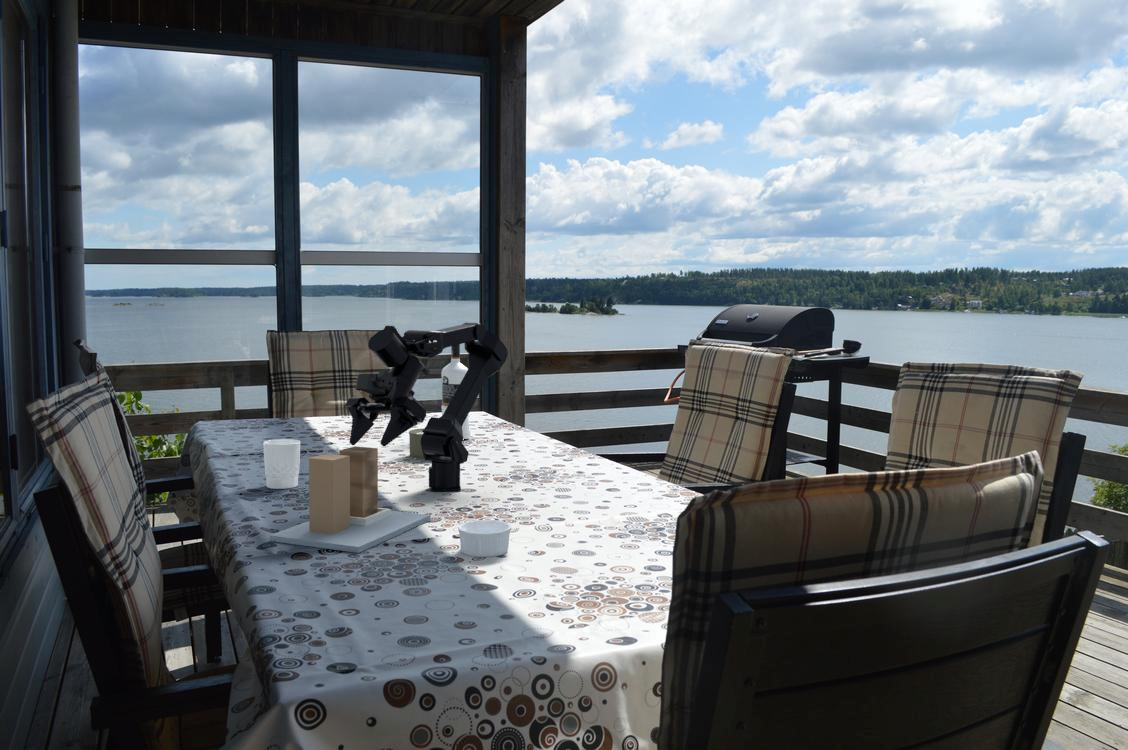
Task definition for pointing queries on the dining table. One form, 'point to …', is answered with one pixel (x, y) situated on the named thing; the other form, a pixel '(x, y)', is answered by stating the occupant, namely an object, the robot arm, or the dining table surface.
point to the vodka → (453, 383)
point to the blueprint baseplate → (353, 533)
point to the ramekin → (484, 538)
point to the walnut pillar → (363, 480)
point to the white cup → (281, 463)
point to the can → (416, 443)
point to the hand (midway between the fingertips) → (366, 444)
